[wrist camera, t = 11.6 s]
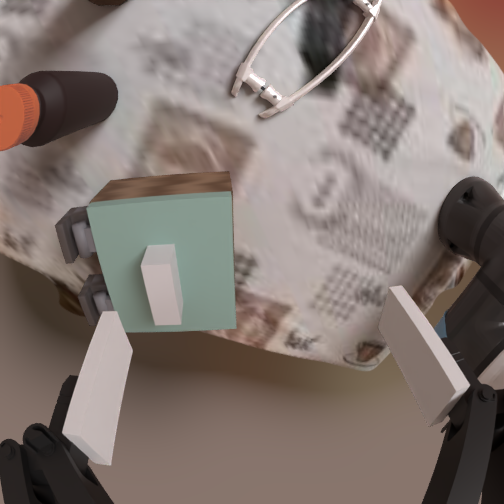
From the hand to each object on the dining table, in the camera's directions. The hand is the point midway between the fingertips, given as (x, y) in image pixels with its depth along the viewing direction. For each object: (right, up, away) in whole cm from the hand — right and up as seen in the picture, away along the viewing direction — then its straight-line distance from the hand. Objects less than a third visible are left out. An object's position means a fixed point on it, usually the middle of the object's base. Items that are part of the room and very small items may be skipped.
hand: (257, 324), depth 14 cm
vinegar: (-20, +23, +17) cm, 35 cm away
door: (-12, +1, +21) cm, 24 cm away
